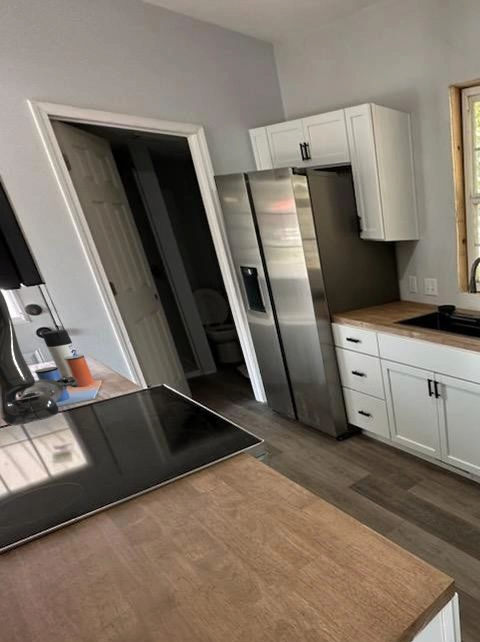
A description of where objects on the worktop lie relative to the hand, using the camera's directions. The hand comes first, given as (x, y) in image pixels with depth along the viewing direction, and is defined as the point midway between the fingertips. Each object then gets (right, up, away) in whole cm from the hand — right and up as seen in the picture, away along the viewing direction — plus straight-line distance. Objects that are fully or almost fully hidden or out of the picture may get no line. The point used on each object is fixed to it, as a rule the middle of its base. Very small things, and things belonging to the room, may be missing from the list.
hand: (53, 380), depth 140 cm
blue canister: (+2, -6, 0) cm, 7 cm away
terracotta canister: (-4, -1, +14) cm, 15 cm away
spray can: (-14, 0, +20) cm, 24 cm away
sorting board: (0, -5, +6) cm, 8 cm away
